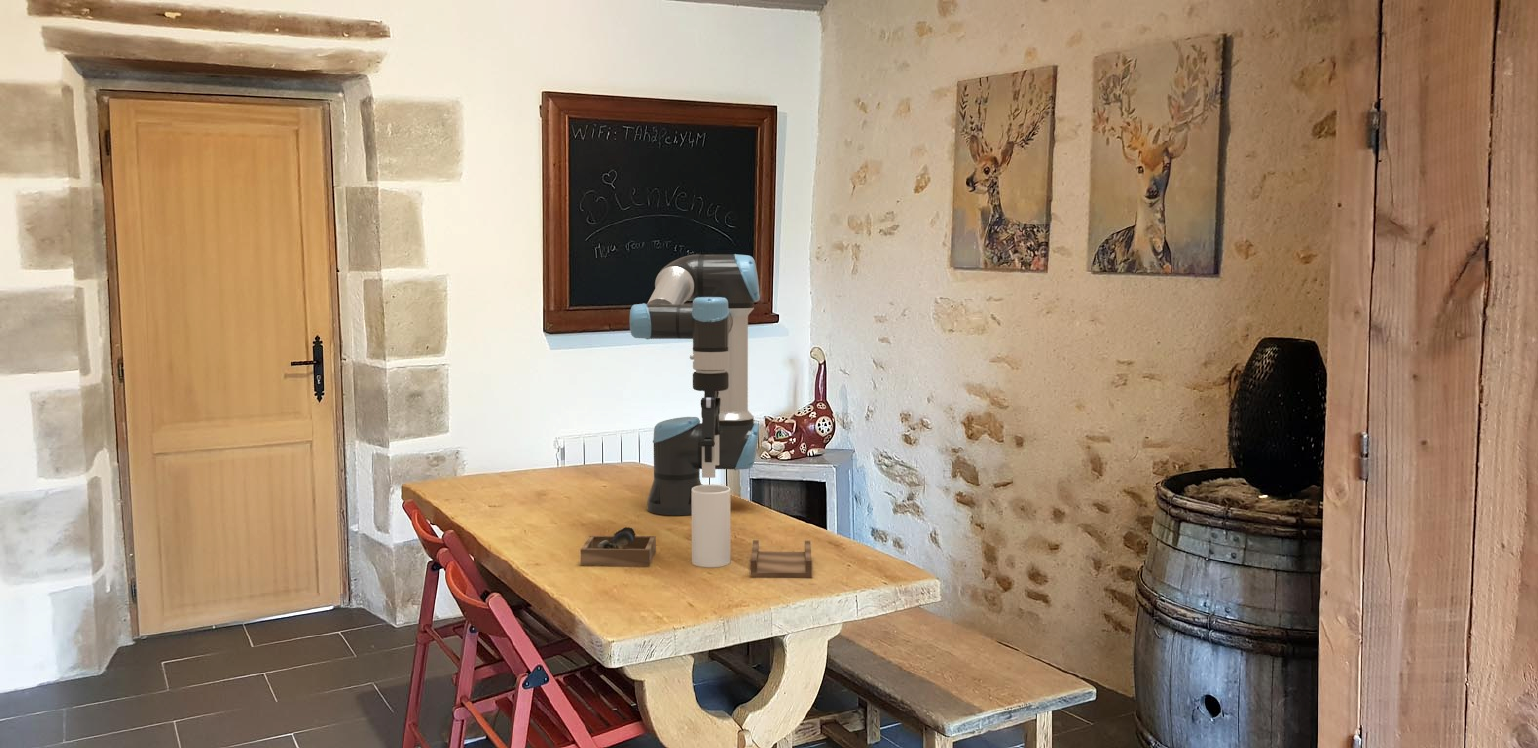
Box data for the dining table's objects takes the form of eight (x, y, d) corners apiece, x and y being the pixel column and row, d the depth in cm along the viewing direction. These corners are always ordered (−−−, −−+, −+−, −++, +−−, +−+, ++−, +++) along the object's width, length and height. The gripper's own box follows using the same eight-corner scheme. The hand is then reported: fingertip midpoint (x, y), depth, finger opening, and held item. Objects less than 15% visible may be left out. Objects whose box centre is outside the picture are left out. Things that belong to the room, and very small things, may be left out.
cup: (696, 568, 238) (696, 493, 237) (688, 558, 246) (687, 485, 244) (734, 565, 241) (734, 491, 239) (725, 555, 249) (725, 483, 247)
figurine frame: (590, 551, 252) (589, 535, 251) (655, 551, 251) (655, 536, 251) (580, 566, 240) (580, 549, 240) (649, 566, 240) (649, 550, 240)
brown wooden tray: (753, 555, 248) (753, 540, 248) (810, 556, 248) (810, 540, 248) (750, 577, 232) (750, 560, 232) (811, 577, 232) (811, 561, 232)
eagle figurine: (638, 559, 241) (643, 541, 250) (618, 533, 240) (624, 515, 248) (608, 577, 243) (615, 558, 251) (589, 551, 241) (596, 533, 250)
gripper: (697, 364, 251) (697, 460, 254) (687, 377, 226) (687, 482, 229) (731, 365, 251) (731, 460, 253) (725, 377, 226) (725, 483, 229)
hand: (710, 471), depth 241 cm, fingers open, 13 cm apart
